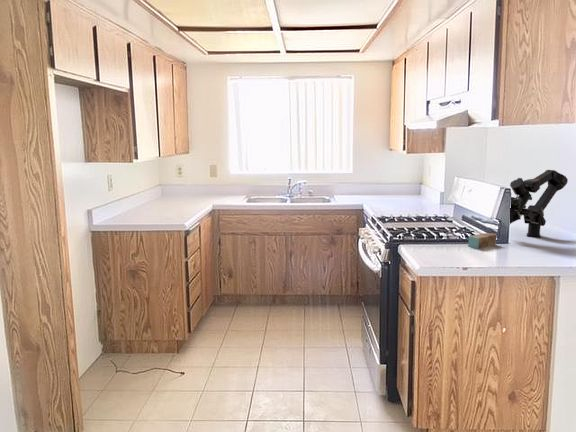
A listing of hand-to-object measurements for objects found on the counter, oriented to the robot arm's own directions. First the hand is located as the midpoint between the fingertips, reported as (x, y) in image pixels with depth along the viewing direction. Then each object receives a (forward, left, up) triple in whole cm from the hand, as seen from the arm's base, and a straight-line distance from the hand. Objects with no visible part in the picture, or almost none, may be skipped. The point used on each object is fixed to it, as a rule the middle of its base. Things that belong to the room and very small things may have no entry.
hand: (505, 225), depth 246 cm
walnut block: (+9, -5, -6) cm, 12 cm away
